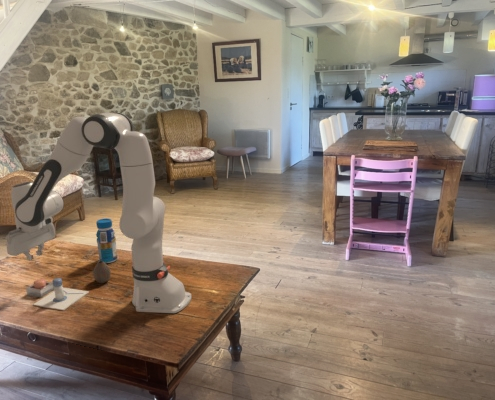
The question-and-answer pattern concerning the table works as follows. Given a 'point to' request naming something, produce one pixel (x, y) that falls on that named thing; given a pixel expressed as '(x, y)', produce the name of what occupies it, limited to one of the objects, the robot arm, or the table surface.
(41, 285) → the button
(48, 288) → the button housing
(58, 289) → the dome-topped peg
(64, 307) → the drawing pad
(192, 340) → the table surface
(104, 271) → the vase
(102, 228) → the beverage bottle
